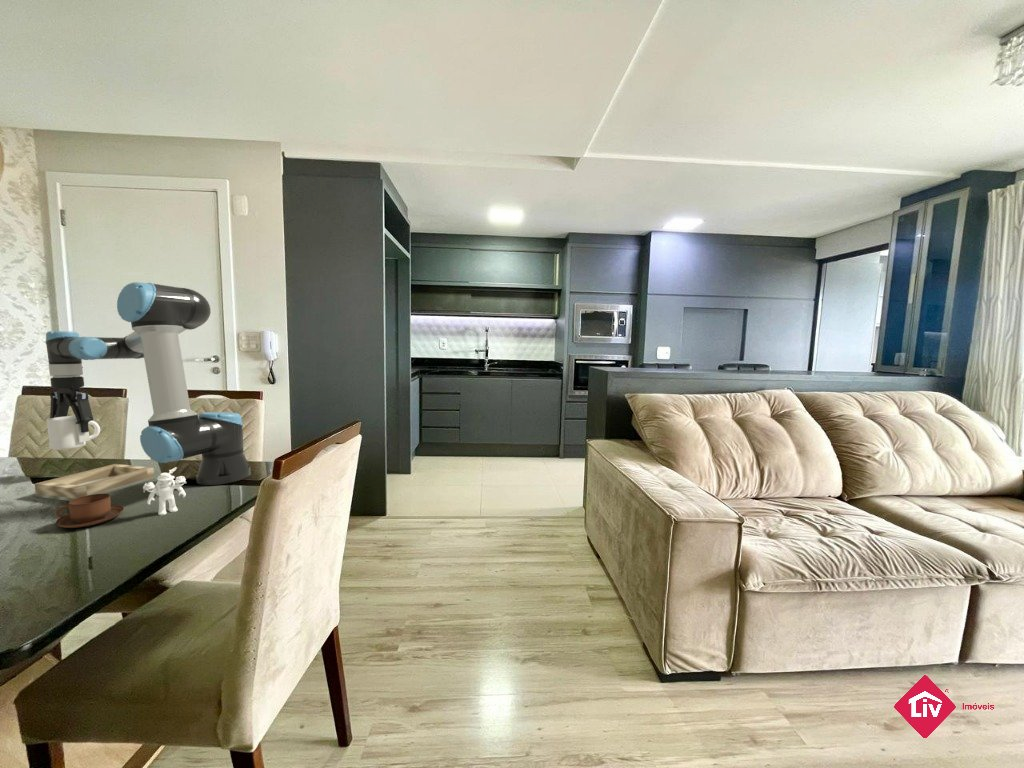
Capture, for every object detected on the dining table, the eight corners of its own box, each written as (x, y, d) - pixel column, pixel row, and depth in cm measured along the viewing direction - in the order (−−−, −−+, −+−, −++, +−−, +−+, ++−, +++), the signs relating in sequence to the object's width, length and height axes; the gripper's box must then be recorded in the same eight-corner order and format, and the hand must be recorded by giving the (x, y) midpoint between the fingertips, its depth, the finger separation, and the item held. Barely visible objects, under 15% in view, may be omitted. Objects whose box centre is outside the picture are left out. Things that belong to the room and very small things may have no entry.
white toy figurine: (185, 504, 112) (183, 464, 111) (190, 508, 109) (187, 467, 108) (143, 515, 104) (140, 472, 103) (147, 519, 102) (144, 475, 101)
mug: (101, 441, 142) (99, 413, 141) (101, 445, 136) (98, 416, 135) (51, 447, 133) (48, 417, 132) (48, 451, 128) (44, 421, 127)
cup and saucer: (58, 537, 93) (56, 512, 92) (54, 522, 100) (52, 500, 99) (128, 520, 102) (126, 497, 102) (120, 507, 109) (118, 486, 109)
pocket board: (154, 479, 132) (153, 467, 131) (78, 502, 112) (77, 488, 112) (116, 474, 135) (115, 463, 135) (36, 496, 116) (34, 483, 115)
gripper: (104, 376, 134) (110, 439, 136) (58, 375, 138) (65, 436, 141) (76, 377, 127) (83, 445, 129) (29, 376, 131) (36, 441, 133)
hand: (74, 440), depth 135 cm, fingers closed on mug, 8 cm apart
